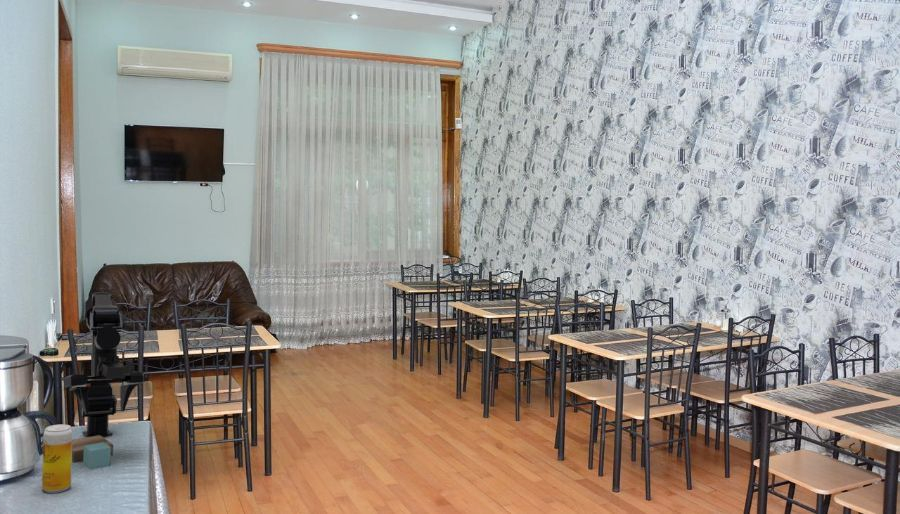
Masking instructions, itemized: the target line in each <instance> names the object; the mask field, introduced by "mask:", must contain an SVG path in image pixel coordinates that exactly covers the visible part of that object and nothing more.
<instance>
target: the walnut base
mask: <svg viewBox="0 0 900 514" xmlns="http://www.w3.org/2000/svg"><path fill="white" fill-rule="evenodd" d="M103 442H104V443H105V444H107V445H108V446H110V447H111V452H110V456H113V455H114V444H113V443H112V442H110V441H109V440H107V439H106V438H104V437H102V436H100V435H98V436H92V437H86V436H85V437H80V438H75V439H72V463H78V462H83V454H84V446H86V445H91V444H97V443H103Z"/></svg>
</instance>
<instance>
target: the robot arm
mask: <svg viewBox="0 0 900 514" xmlns="http://www.w3.org/2000/svg"><path fill="white" fill-rule="evenodd" d="M83 311H84V312H83V319H84V320H86V326H87V328H88V329H89V331H90V332H91V376H88V374H85V373H84V374H71V375H67V376H65V378H64V380H63V387H64V388H69V391H73V392H74V395H75V396H76V398H77V399H78V401H79V403H80V406H81V415H82V418H86V419H87V420H86V431H82V435H83V436H85V438H86V437H92V436H98V435H100V436H102V437H103V438H104V437H108V436H113V432H111V431H110V430H109V416H111V415H112V416H114V415H115V414H117V405H118V399H117V398H116V396H115V394H113V387H112V386H111V384H112V383H114V384H115V383H122V384H123V385H120V386H119V387H120V389H119V391H120V392H119V393H120V396H119V397H120V399H119V400H120V404H119V405H120V412H125V410H126V407H127V404H128V402H129V399H130V396H131V395H132V393H133V390H134V389H136V387H139V386H140V384H141V383H145V375H144V373H143V372H141V371H140V372H133V370H134V369H133V368H134V365H133V361H132V360H122V362H120V355H118V346H119V344H120V342H121V340H122V339H121V334H120V332H119V331H122V330H123V329H124V328H125V326H126V325H125V324H126V323H125V315H124V314H123V312H122V310H120V309H119V307H118V306H117V302H116V300H115V299H114V298H112V293H110V292H106V291H105V292H101V291H99V292H97V291H96V292H94V293H93V292H92V294H91V297H90V298H88V299H87V300H86V301H84V309H83ZM110 383H111V384H110ZM87 384H89V385H88V386H87Z"/></svg>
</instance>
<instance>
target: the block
mask: <svg viewBox="0 0 900 514" xmlns="http://www.w3.org/2000/svg"><path fill="white" fill-rule="evenodd" d="M110 452H111V447H110V446H108V445H107V444H105V443H104V442H103V443H97V444H91V445H86V446H84V454H83V461H82V463H83V466H85V467H87V469H89V470H94V469H101V468H104V467H108V466H109V467H111V455H110Z"/></svg>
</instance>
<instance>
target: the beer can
mask: <svg viewBox="0 0 900 514" xmlns="http://www.w3.org/2000/svg"><path fill="white" fill-rule="evenodd" d="M71 427H72V426H71V425H69V424H53V425H48V426H47V427H46V428H45V429H44V431H43V436H42V437H43V438H42V439H43V440H42V442H43V443H42V473H41V475H42V476H41V477H42V480H41V482H42V483H41V484H42V485H41V488H42V489H43V490H44V491H45V492H46V493H49V494H57V493H61V492H66V491H67V490H68V489H69V487H70V486H71V485H72V468H73V467H72V465H73V464H72V463H73V462H72V440H73V429H72V428H71Z"/></svg>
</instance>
